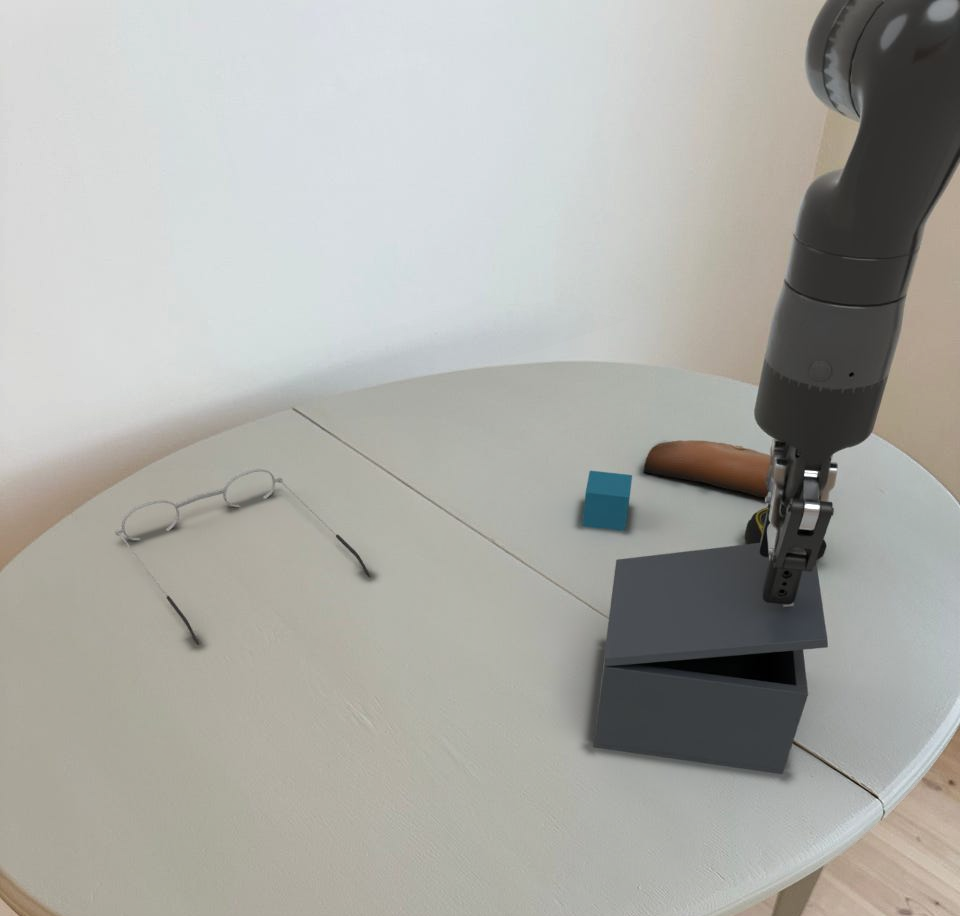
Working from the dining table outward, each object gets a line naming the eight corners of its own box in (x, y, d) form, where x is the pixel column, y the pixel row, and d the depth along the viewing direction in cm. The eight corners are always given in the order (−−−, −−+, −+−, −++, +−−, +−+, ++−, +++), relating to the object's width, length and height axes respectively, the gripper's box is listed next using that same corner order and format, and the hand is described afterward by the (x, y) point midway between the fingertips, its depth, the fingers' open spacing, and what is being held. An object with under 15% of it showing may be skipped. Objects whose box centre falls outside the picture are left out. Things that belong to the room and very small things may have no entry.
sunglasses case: (819, 475, 110) (826, 443, 104) (802, 529, 108) (809, 500, 102) (662, 440, 115) (661, 408, 109) (643, 491, 114) (641, 461, 107)
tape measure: (823, 570, 97) (832, 538, 95) (757, 576, 96) (766, 544, 94) (793, 531, 102) (802, 500, 100) (731, 537, 101) (738, 505, 99)
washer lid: (813, 544, 77) (809, 486, 74) (828, 647, 68) (823, 585, 65) (617, 567, 82) (606, 513, 79) (605, 666, 72) (591, 609, 69)
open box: (773, 670, 86) (796, 589, 80) (781, 777, 76) (808, 694, 71) (605, 648, 87) (616, 567, 82) (592, 750, 78) (604, 667, 72)
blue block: (627, 511, 105) (632, 474, 102) (624, 533, 101) (629, 497, 99) (585, 506, 105) (589, 470, 102) (581, 528, 102) (585, 492, 99)
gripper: (908, 415, 55) (837, 645, 66) (875, 315, 66) (819, 528, 77) (771, 404, 56) (724, 633, 67) (761, 308, 67) (721, 519, 78)
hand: (775, 576), depth 72 cm, fingers closed on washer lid, 5 cm apart
